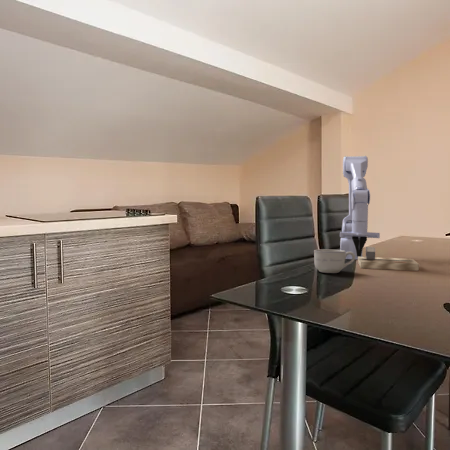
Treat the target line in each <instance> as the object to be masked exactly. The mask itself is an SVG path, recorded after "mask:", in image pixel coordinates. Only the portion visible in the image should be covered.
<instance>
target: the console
mask: <svg viewBox="0 0 450 450" xmlns="http://www.w3.org/2000/svg"><path fill="white" fill-rule="evenodd" d="M357 263H358V265H359V268H360V269H369V270H370V269H371V270H372V269H373V270H374V269H375V270H396V271H420V270H419V269H420V268H419V267H420V263H418V262H417V261H416V260H415V259H413V258H405V257H404V258H401V257H380V256H379V257H378V256H377V257H376V256H375V260H372V259H366V256H363V257H358V260H357Z"/></svg>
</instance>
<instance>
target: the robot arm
mask: <svg viewBox="0 0 450 450" xmlns="http://www.w3.org/2000/svg"><path fill="white" fill-rule="evenodd" d="M342 158H343V159H342V174H343V177H344V178H346V179H347V183H348V215H346V216H345V217H344V218H343V219H342V224H341V231H340V232H339V238H340V241H339V245H340V247H339V250H344V251H345V253H346V252H352V253H354V255H355V260H357V261H358V257H364V256H363V251H364V247H365V244H367V243H366V242H368V241H367V240H368V239H370V238H371V239H381V238H380V237H381V236H380V234H381V233H380V232H369V231H368V223H369V222H368V220H369V219H368V218H369V205H370V202H371V193H370V189H369V188H368V185H367V179H366V178H365V176H366V174H367V170H368V166H369V163H368V162H369V159H368V156H367V155H361V156H360V155H358V156H357V155H355V156H353V155H352V156H350V155H349V156H348V155H347V156H346V155H345V156H344V157H342ZM351 259H352V255H350V254H348V255H347V256H346V259H345V260H351Z"/></svg>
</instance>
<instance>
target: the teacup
mask: <svg viewBox="0 0 450 450" xmlns="http://www.w3.org/2000/svg"><path fill="white" fill-rule="evenodd" d="M313 253H314V254H313V256H314V257H313V261H314V267H315V269H316V270H318V271H319V272H320V273H324V274H337V273H340V272H341V271H342V270H343V269H345V268H347V267H348V266H349V265H351V264H353V263H354V262H355V260H356V259H355V255H354V253H352V252H346V253H345V251H344V250H340V249H331V248H330V249H328V248H327V249H326V248H325V249H324V248H322V249H313ZM348 254H350V255H352V259H350V260H349V261H347V262H345V261H346V260H347V259H346V256H347V255H348Z"/></svg>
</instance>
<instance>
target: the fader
mask: <svg viewBox="0 0 450 450" xmlns="http://www.w3.org/2000/svg"><path fill="white" fill-rule="evenodd" d="M365 257H366V259H372V260H375V257H376V247H375V246H365Z"/></svg>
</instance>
